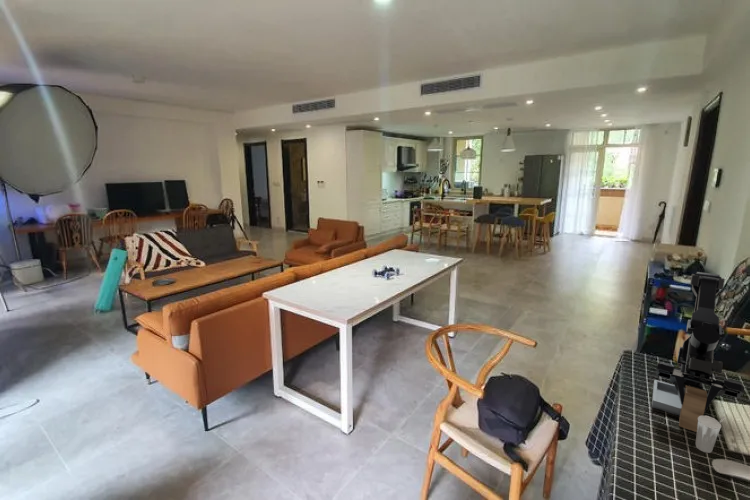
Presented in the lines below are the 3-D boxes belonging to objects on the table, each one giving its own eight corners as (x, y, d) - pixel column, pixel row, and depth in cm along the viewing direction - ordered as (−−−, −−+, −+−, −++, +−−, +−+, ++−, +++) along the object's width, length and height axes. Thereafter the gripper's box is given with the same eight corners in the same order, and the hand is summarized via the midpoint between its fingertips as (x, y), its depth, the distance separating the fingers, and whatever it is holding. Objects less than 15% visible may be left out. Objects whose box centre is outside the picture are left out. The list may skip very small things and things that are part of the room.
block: (679, 417, 108) (685, 385, 106) (699, 424, 106) (706, 390, 103) (678, 426, 105) (685, 392, 103) (699, 433, 102) (707, 398, 100)
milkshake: (723, 456, 94) (731, 423, 92) (699, 453, 95) (706, 420, 93) (711, 443, 98) (718, 411, 96) (688, 441, 99) (695, 409, 97)
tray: (653, 386, 124) (654, 379, 123) (690, 396, 118) (691, 389, 118) (651, 407, 113) (653, 400, 113) (692, 419, 108) (693, 412, 107)
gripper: (662, 337, 109) (653, 386, 103) (750, 357, 97) (746, 414, 91) (659, 350, 117) (651, 397, 111) (741, 370, 105) (736, 424, 99)
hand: (693, 407), depth 103 cm, fingers closed on block, 4 cm apart
